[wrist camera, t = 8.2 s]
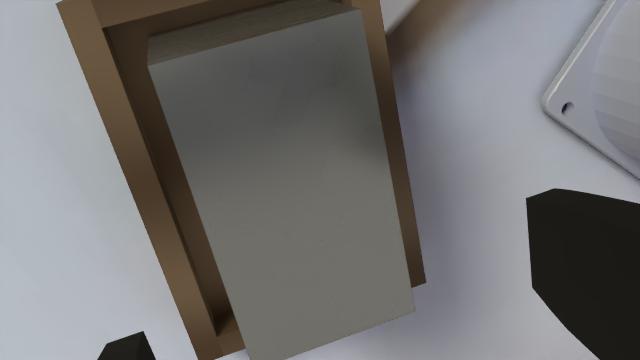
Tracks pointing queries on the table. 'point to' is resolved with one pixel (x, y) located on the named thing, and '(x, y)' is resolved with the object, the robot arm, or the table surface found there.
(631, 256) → the robot arm
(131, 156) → the shallow wooden tray
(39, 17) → the table surface
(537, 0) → the table surface
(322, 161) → the grey speckled stone block
